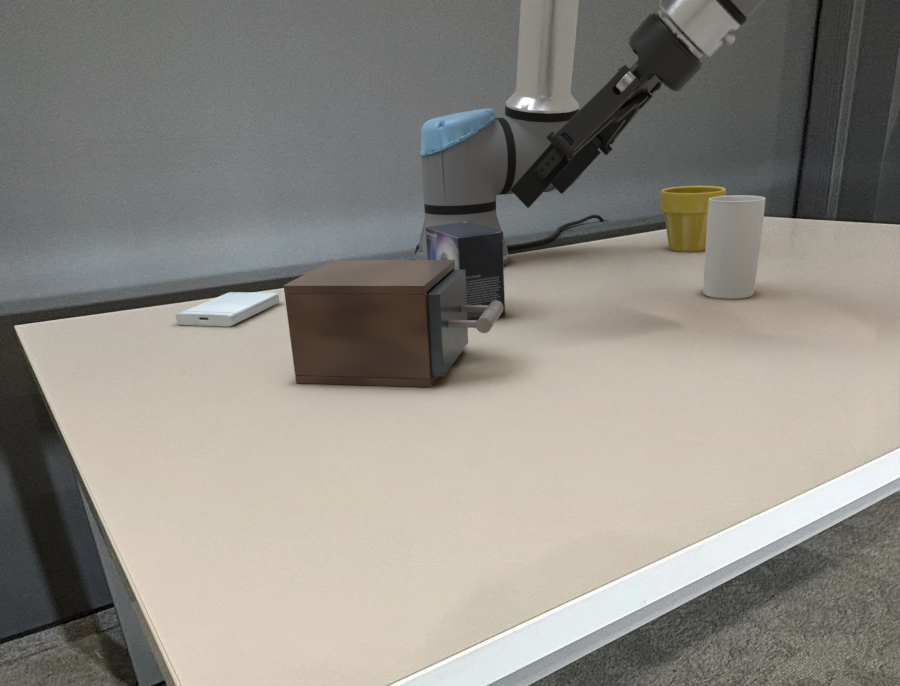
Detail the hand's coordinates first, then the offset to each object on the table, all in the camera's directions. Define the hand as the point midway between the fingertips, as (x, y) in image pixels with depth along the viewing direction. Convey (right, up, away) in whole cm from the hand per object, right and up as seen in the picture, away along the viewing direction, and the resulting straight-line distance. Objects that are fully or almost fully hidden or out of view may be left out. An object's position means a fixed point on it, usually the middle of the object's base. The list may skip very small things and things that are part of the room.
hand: (538, 191), depth 92 cm
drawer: (-14, -21, -11) cm, 27 cm away
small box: (-8, -12, +9) cm, 18 cm away
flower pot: (+31, +4, +44) cm, 53 cm away
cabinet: (-17, -21, -10) cm, 29 cm away
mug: (+27, -9, +13) cm, 31 cm away
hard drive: (-40, -12, +14) cm, 44 cm away
